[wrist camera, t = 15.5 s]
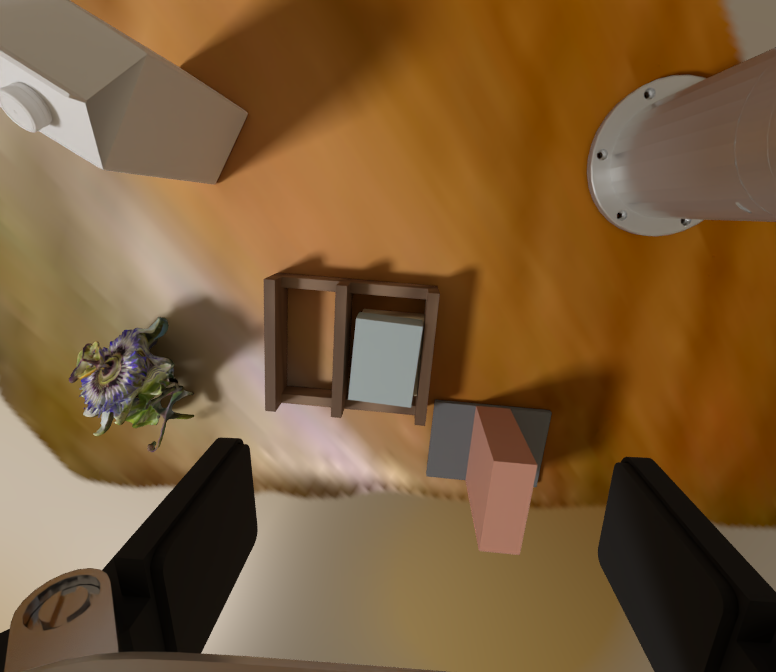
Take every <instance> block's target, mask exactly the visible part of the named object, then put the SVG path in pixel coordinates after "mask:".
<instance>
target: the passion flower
mask: <svg viewBox="0 0 776 672" xmlns="http://www.w3.org/2000/svg"><path fill="white" fill-rule="evenodd" d="M167 330H168V321H167V319H166V318H161V317H158V319H157V320H156V321H155V322H154V323H153V324H152V325H151V326H150V327H149V328H148V329H142V328H135V329H134V330H124V331H123V332H122V335H119V337H118V338H116V339H115V340H114V341H111V342H110V347H109V348H105V347H104V348H103V350H102V349H101V348H100V347H99V342H97V341H96V342H94V343H93V345H92V344H86V345H85V347H84V348H83V350H82V351H81V352H80V353H79V355H78V359H77V367H76V368H75V369H74V370H73V372H72V374H71V377H70V378H69V382H70V383H73V382H75V381H76V380H77V379H79V378H83V379H82V380H81V382H82V387H81V388H80V390H81V389H82V390H83V392H82V393H81V395H80V396H82V397H84V398H85V400H86V401H85V402H84V403H85V404H88V407H87V408H86V410H85V411H84V413H83V415H85V416H87V417H95V416H98V415H99V416H98V418H99V417H100V415H101V414H102V417H101V418H102V421H101V425H102V426H101V428H100V429H99V430H98V431H97V433H94V435H95V436H99V435H101V434H104V433H105V432H106V431H107V430H108V429H109V428H110V426H111V423H112V421H113V419H114V418H115V419H116V422H115V424H117V425H122V424H123V423H124V422H125V421H128V422H131V423H133V426H132V427H133V428H138V427H141V426H144V425H148V424H150V425H153V424H154V425H157V424H158V421H159V418H160V415H161V416H162V417H163V418H164V419H165V420H164V423H163V427H162V429H161V435H160V438H159V441H158V446H157V448H158V447H159V446H160V444H161V441H162V438H163V434H164V430H165V427H166V422H167V420H169V419H176V418H177V419H189V418H192V417H194V415H188V414H180V413H175V412H173V411H172V405H173V404H174V403H175V402H176V401H178V400H180V399H181V398H183V397H185V396H187V395H193V394H194V393H192V392H189V391H185V390H184V387H183V386H179V383H178V381H177V379H176V378H174V376H173V373H174V369H173V367H174V366H175V364H174V362H173V361H172V360H171V359H169V358H164V357H158V356H154V355H152V354H151V353H150V351H149V349H150V348H152V347H153V346H154V345H155V344H156V343H157V340H158V337H161V336H163V335H164V334H165V333H166V332H167ZM166 379H168V380H167V381H164V380H166ZM172 383H175V386H173V387H170V388H166V387H167V386H168V385H170V384H172ZM161 393H162V395H160V396H159V397H158V398H155V399H153V398H154V397H155V395H159V394H161ZM137 394H138V397H139V399H138V398H135V397H136V396H137ZM170 394H172V397H171V400H170V403H169V405H168V407H167V408H163V407H161V403H160V401H161V399H162V398H164V397H165V396H167V395H170ZM80 396H79V397H80ZM151 399H152V400H151ZM84 409H85V408H84ZM155 445H156V442H155V441H154V442H152V444H149V445H148V448H147V449H148V451H151V452H154V451H155V450H156V449H157V448H156V449H155Z"/></svg>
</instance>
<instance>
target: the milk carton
mask: <svg viewBox="0 0 776 672" xmlns="http://www.w3.org/2000/svg"><path fill="white" fill-rule="evenodd" d="M0 107H1V108H2V109H3V110H4V112H5V113H6V114H7V115H8V116H9V117H10V118H11V119H12V120H13V121H14V122H15V123H16V124H17V125H19V126H20V127H22V128H23V129H25V130H27V131H29V132H37V131H40V132H41V133H43V134H45V135H46V136H48V137H49V138H51V139H53V140H54V141H56V142H58V143H59V144H61V145H62V146H64V147H66V148H67V149H69V150H71V151H72V152H74V153H75V154H77V155H79V156H80V157H82V158H84V159H85V160H87V161H89V162H90V163H92V164H94V165H95V166H97V167H99V168H101V169H103V170H107V171H114V172H121V173H129V174H137V175H145V176H152V177H160V178H168V179H176V180H183V181H191V182H199V183H207V184H216V182H217V180H218V178H219V176H220V174H221V171H222V169H223V167H224V165H225V163H226V161H227V158H228V156H229V154H230V152H231V150H232V148H233V146H234V143H235V141H236V139H237V137H238V135H239V133H240V130H241V128H242V126H243V124H244V122H245V120H246V117H247V115H248V112H246V111H245V110H244V109H242V108H241V107H239V106H238V105H236V104H235V103H233V102H232V101H230V100H229V99H227V98H226V97H224V96H222V95H221V94H219V93H218V92H216V91H215V90H213V89H212V88H210V87H209V86H207V85H206V84H204V83H203V82H201V81H200V80H198V79H197V78H195V77H194V76H192V75H191V74H189V73H187V72H186V71H184V70H183V69H181V68H180V67H178V66H176V65H175V64H173V63H172V62H170V61H168V60H167V59H165V58H163V57H162V56H160V55H158V54H157V53H155V52H153V51H152V50H150V49H149V48H147V47H145V46H144V45H142V44H140V43H139V42H137V41H135V40H134V39H132V38H131V37H129V36H127V35H126V34H124V33H122V32H121V31H119V30H117V29H116V28H114V27H112V26H111V25H109V24H108V23H106V22H104V21H103V20H101V19H99V18H98V17H96V16H94V15H93V14H91V13H90V12H88V11H86V10H85V9H83V8H81V7H80V6H78V5H76V4H75V3H73V2H71V1H70V0H0Z"/></svg>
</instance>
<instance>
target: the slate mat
mask: <svg viewBox="0 0 776 672" xmlns="http://www.w3.org/2000/svg"><path fill="white" fill-rule="evenodd" d="M476 406H484V407H496V408H507V409H510V410H511V412H512V414H513V416H514V418H515V420H516V422H517V424H518V426H519V428H520V430H521V432H522V434H523V436H524V438H525V440H526V443H527V445H528V447H529V449H530V451H531V453H532V455H533V457H534V459H535V461H536V463H537V470H536V475H535V480H534V485H533V487H536V486H537V482H538V477H539V472H540V467H541V462H542V458H543V453H544V448H545V443H546V438H547V434H548V429H549V424H550V419H551V414H552V412H551V411H550V410H542V409H531V408H521V407H510V406H499V405H488V404H477V403H467V402H456V401H445V400H435V403H434V412H433V421H432V429H431V438H430V446H429V455H428V463H427V472H426V475H427V476H429V477H439V478H449V479H459V480H466V473H467V466H468V459H469V452H470V445H471V438H472V431H473V424H474V417H475V410H476Z"/></svg>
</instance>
